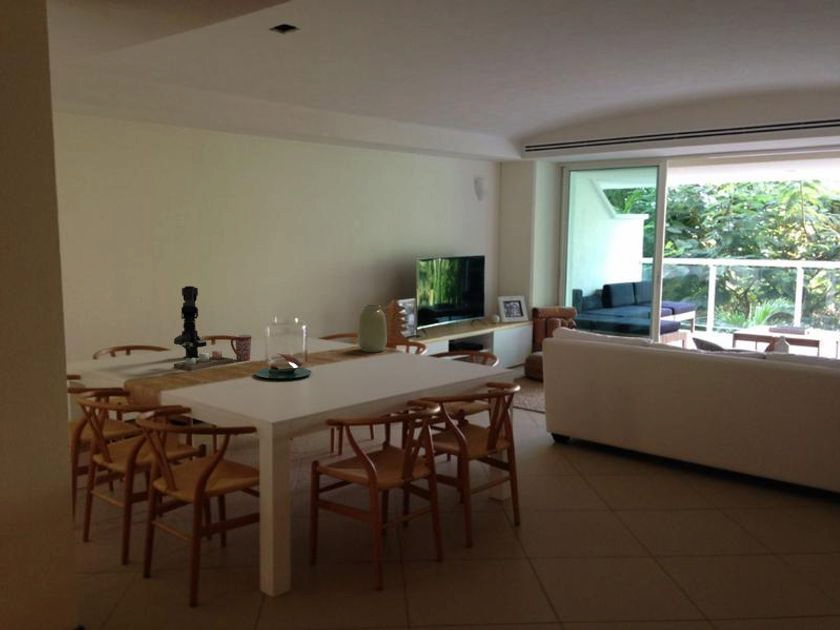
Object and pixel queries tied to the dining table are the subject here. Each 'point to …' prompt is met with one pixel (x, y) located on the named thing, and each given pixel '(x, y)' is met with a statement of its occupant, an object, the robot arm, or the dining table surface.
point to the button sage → (190, 361)
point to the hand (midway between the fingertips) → (190, 358)
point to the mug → (242, 347)
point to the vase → (372, 329)
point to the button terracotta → (216, 355)
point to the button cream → (203, 357)
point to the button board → (203, 364)
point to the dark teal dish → (284, 370)
